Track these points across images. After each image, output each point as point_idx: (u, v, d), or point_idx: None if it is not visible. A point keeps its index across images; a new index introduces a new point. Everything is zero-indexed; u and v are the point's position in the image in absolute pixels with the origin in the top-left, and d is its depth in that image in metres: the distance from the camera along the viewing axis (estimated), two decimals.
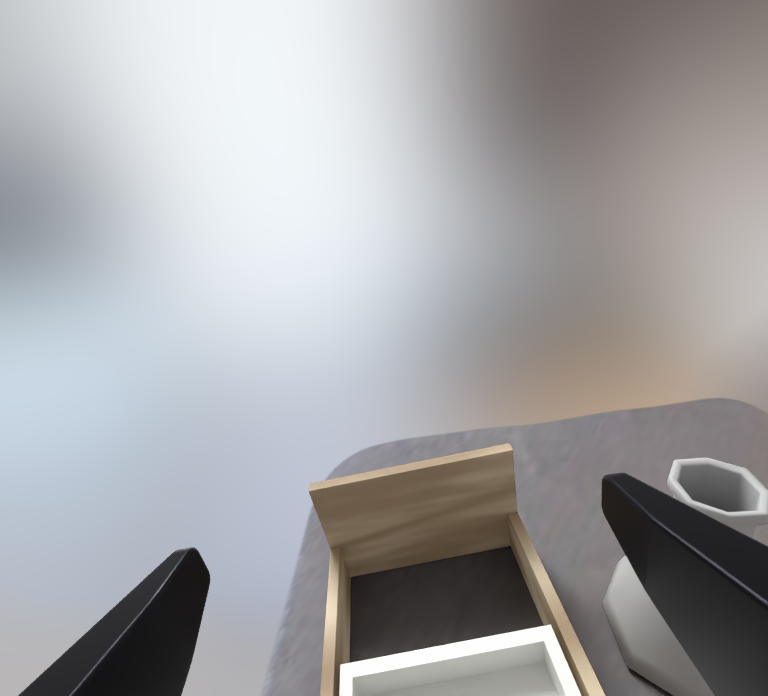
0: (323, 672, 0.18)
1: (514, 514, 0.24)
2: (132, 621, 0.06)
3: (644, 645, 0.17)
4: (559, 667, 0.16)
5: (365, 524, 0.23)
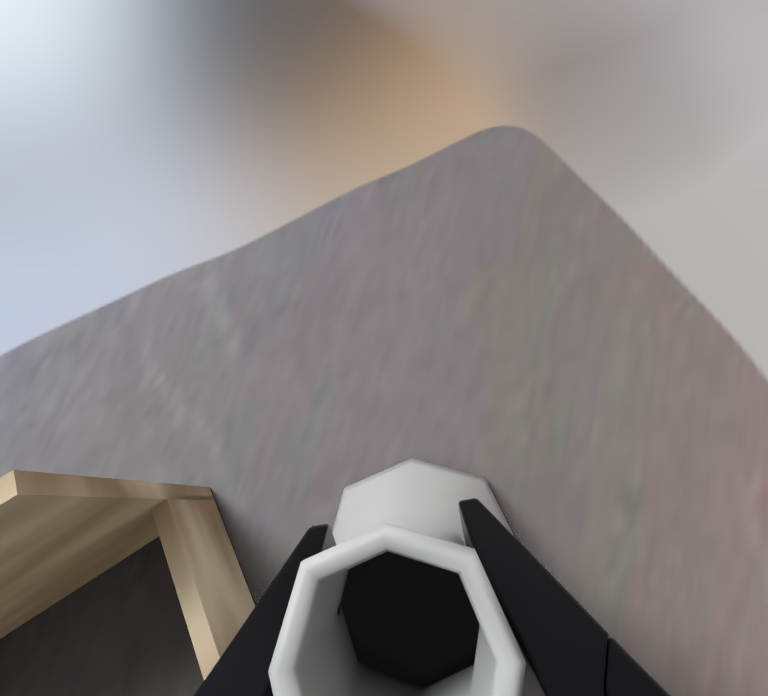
0: None
1: (162, 506, 0.13)
2: None
3: None
4: None
5: None
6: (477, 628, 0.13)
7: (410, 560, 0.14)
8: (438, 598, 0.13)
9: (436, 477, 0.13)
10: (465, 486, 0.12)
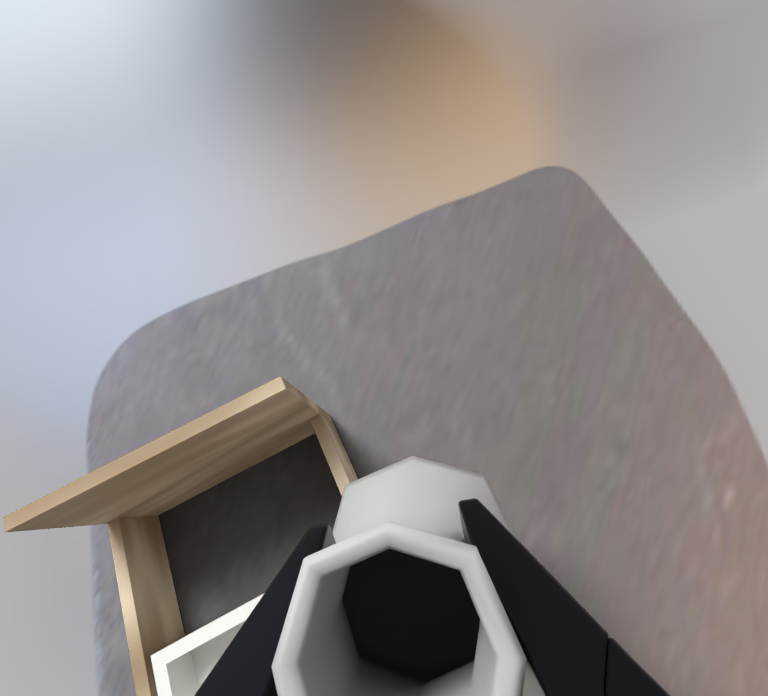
0: (134, 669, 0.17)
1: (317, 418, 0.20)
2: None
3: None
4: None
5: (133, 499, 0.18)
6: (477, 624, 0.13)
7: (411, 557, 0.14)
8: (438, 595, 0.13)
9: (437, 475, 0.13)
10: (466, 484, 0.12)
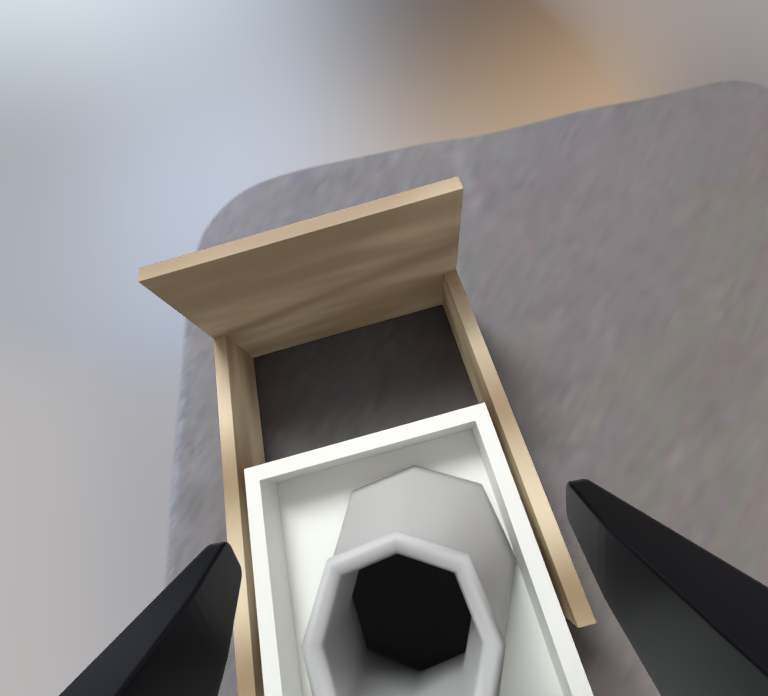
0: (225, 478, 0.15)
1: (452, 273, 0.18)
2: (174, 614, 0.06)
3: None
4: (489, 445, 0.15)
5: (252, 309, 0.17)
6: None
7: (412, 559, 0.15)
8: (437, 594, 0.14)
9: (437, 484, 0.14)
10: (463, 493, 0.14)
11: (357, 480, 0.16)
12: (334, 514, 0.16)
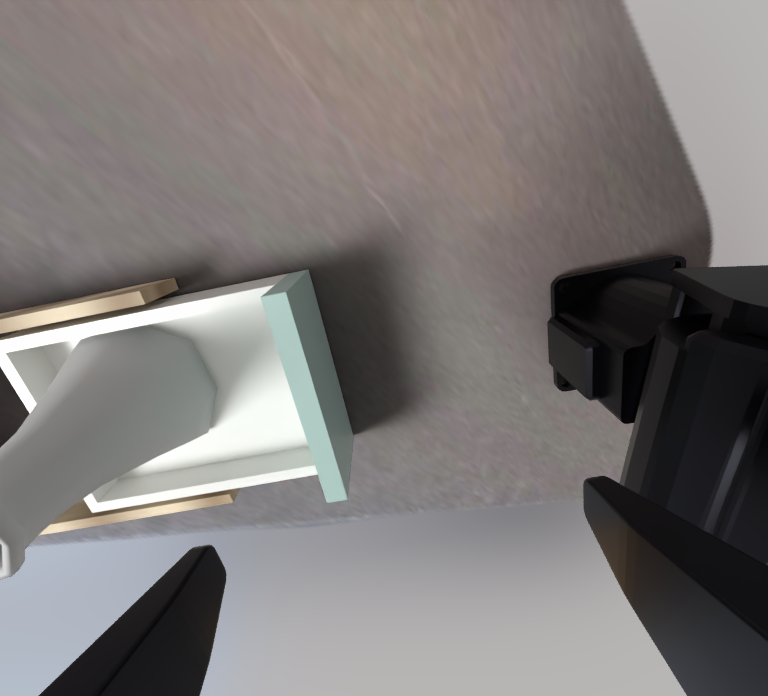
0: (102, 523, 0.21)
1: None
2: (153, 618, 0.06)
3: (187, 439, 0.19)
4: (24, 344, 0.17)
5: None
6: None
7: None
8: None
9: None
10: None
11: None
12: None
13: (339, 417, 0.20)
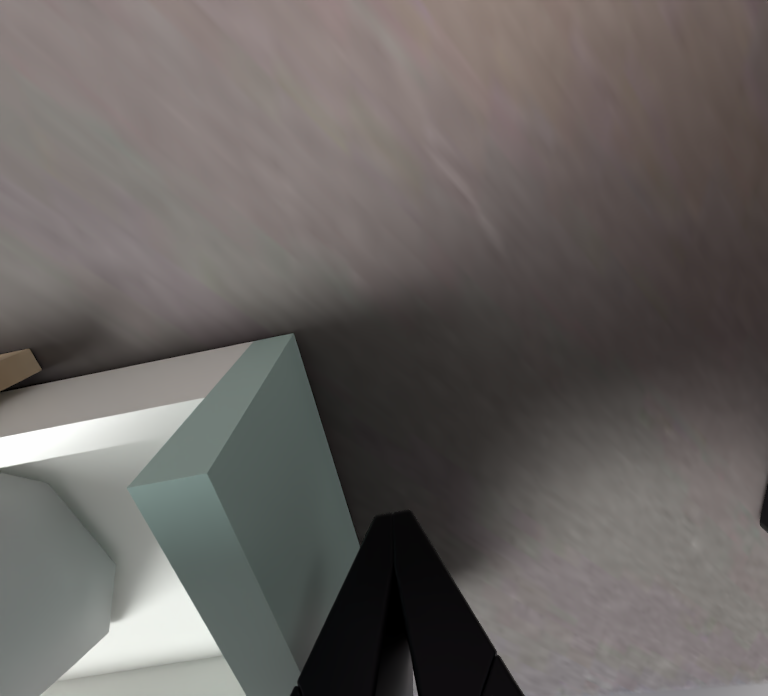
0: None
1: None
2: (384, 579, 0.06)
3: (46, 683, 0.09)
4: None
5: None
6: None
7: None
8: None
9: None
10: None
11: None
12: None
13: None
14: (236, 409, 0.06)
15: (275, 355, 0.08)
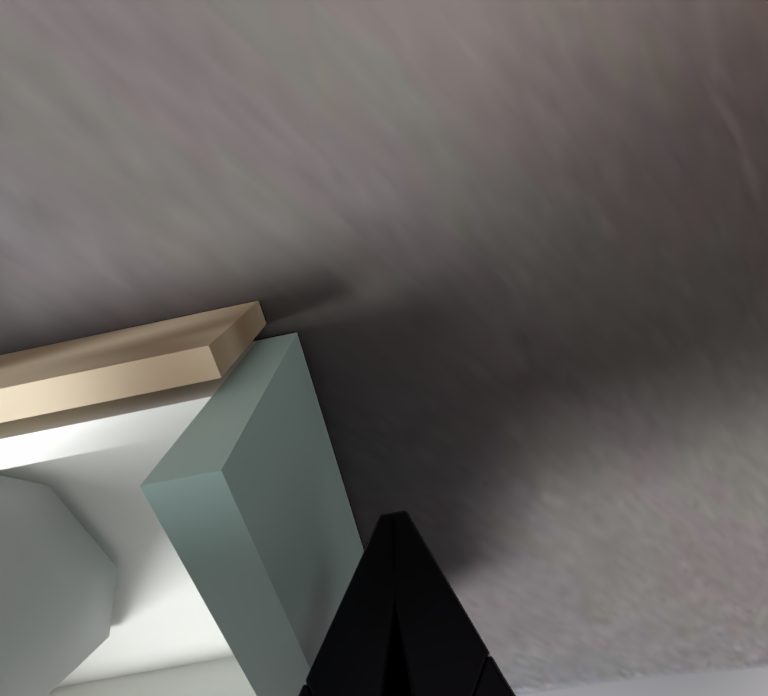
0: None
1: None
2: (391, 578, 0.06)
3: (47, 689, 0.09)
4: None
5: None
6: None
7: None
8: None
9: None
10: None
11: None
12: None
13: None
14: (245, 407, 0.06)
15: (280, 354, 0.08)
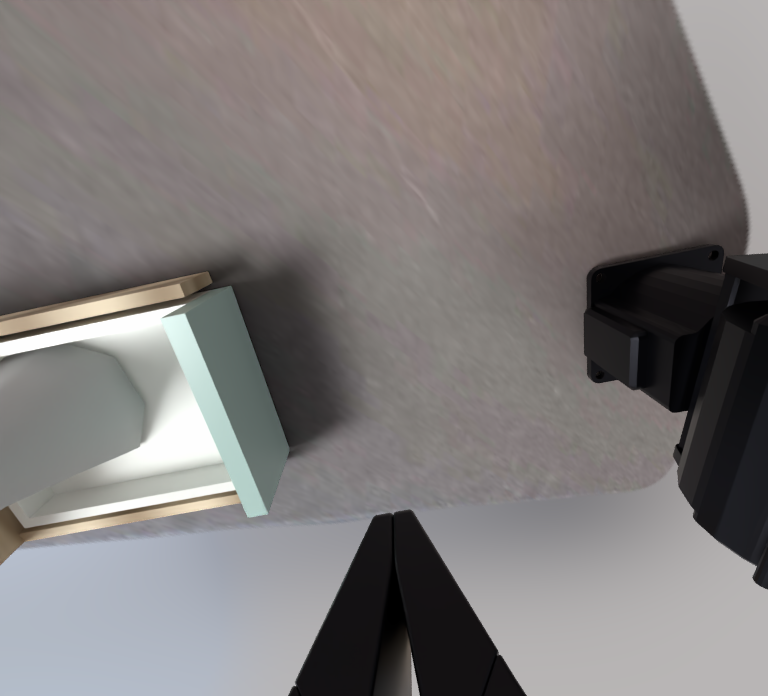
0: (134, 520, 0.21)
1: None
2: (383, 580, 0.06)
3: (112, 455, 0.19)
4: None
5: None
6: None
7: None
8: None
9: None
10: None
11: None
12: None
13: (266, 431, 0.20)
14: (197, 304, 0.16)
15: (218, 292, 0.18)
